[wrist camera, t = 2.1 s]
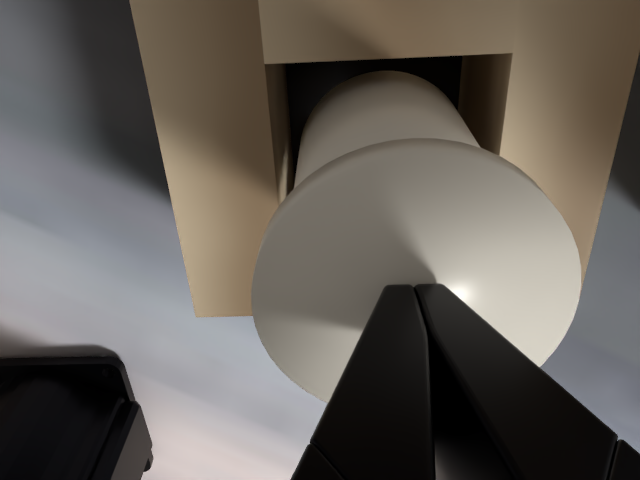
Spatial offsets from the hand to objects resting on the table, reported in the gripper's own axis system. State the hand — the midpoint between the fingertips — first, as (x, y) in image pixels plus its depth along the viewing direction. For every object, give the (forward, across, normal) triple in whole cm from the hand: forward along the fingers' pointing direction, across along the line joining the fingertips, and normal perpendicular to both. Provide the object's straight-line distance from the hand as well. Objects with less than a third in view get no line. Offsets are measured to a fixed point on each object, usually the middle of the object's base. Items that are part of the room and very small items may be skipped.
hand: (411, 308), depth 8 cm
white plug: (+6, 0, 0) cm, 6 cm away
